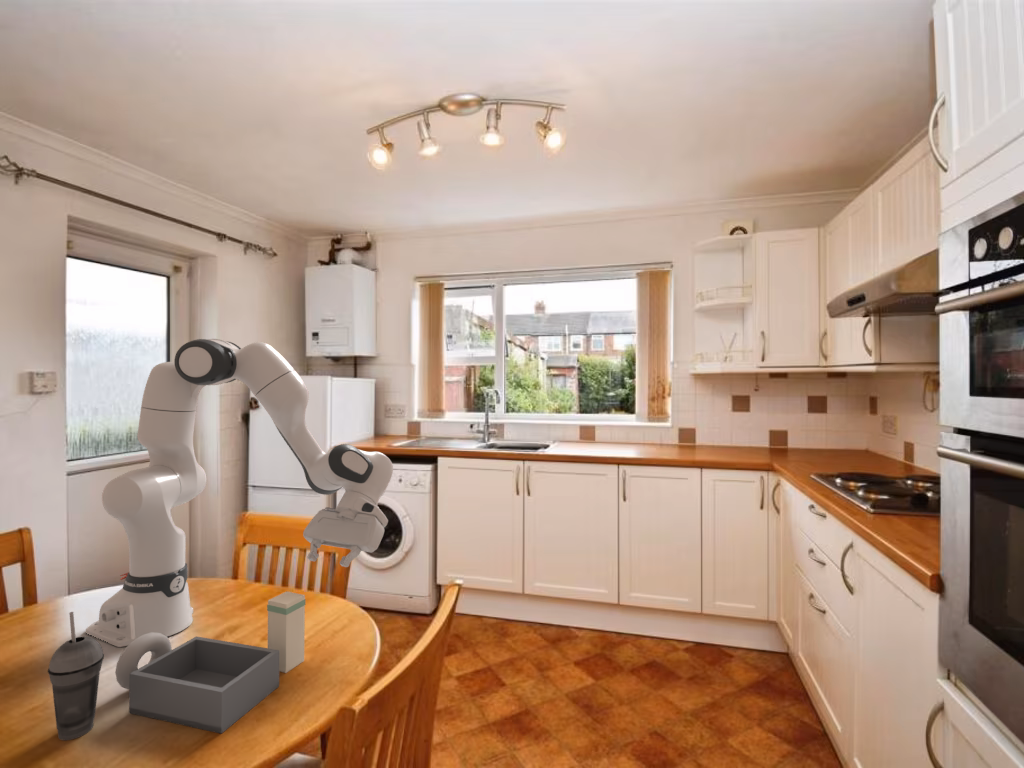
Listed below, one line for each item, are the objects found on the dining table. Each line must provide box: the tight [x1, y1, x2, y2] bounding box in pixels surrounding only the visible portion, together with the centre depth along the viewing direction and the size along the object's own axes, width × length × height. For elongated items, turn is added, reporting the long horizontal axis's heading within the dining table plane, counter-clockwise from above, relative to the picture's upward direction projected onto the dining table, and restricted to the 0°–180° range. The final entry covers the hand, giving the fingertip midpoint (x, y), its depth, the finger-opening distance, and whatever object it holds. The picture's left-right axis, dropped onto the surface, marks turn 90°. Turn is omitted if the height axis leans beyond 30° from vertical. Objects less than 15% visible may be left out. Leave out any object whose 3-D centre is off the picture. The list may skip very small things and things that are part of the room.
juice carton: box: [266, 591, 306, 674], centre depth 107 cm, size 5×5×14 cm
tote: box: [128, 636, 280, 734], centre depth 95 cm, size 20×14×7 cm
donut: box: [114, 632, 173, 690], centre depth 99 cm, size 10×4×10 cm, turn 159°
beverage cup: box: [47, 611, 105, 741], centre depth 86 cm, size 7×7×20 cm
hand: (326, 562), depth 119 cm, fingers open, 8 cm apart
